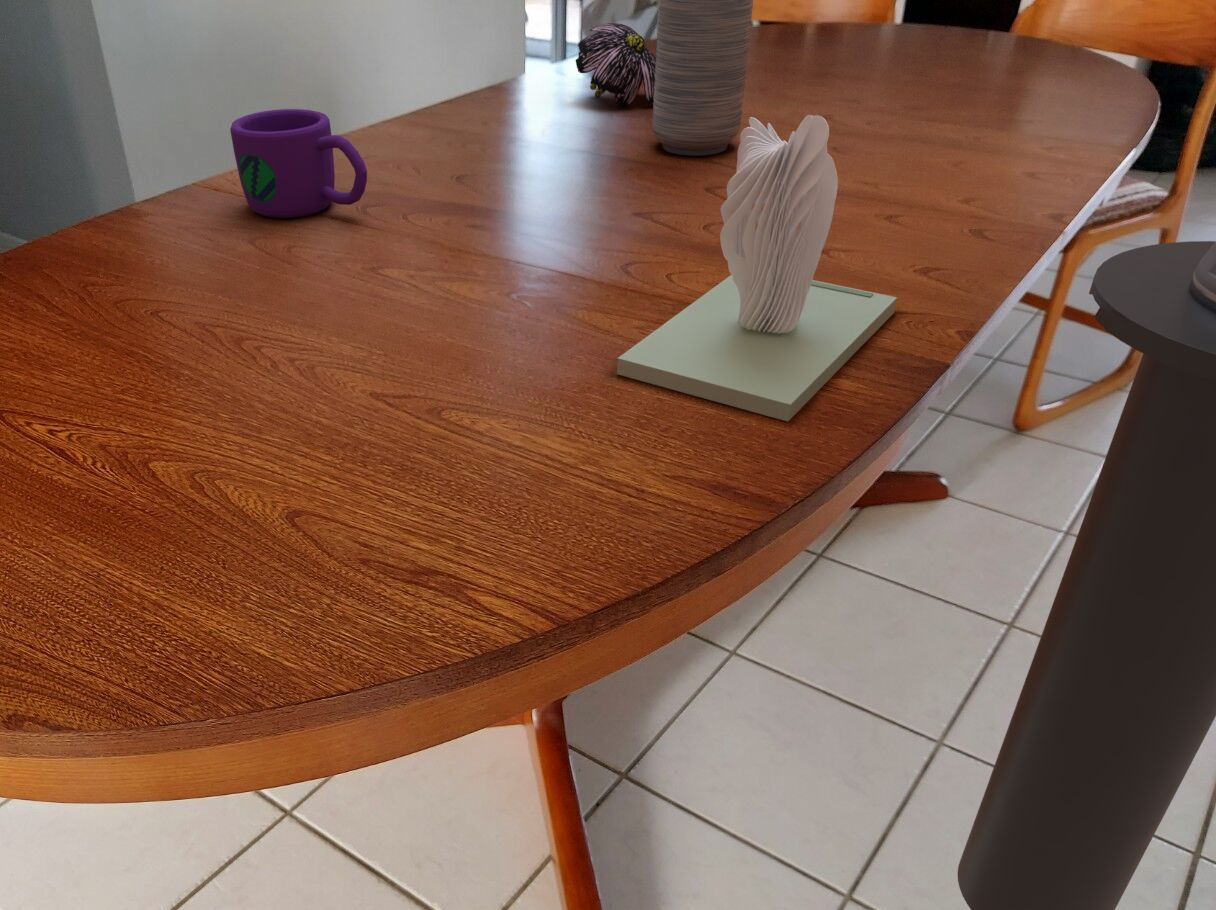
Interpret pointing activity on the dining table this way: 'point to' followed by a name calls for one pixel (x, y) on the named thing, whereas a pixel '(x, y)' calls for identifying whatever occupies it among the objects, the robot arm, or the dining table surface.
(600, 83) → the decorative flower
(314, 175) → the mug
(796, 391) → the cutting board
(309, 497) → the dining table surface
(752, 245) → the shell sculpture
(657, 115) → the vase
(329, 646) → the dining table surface
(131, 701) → the dining table surface
